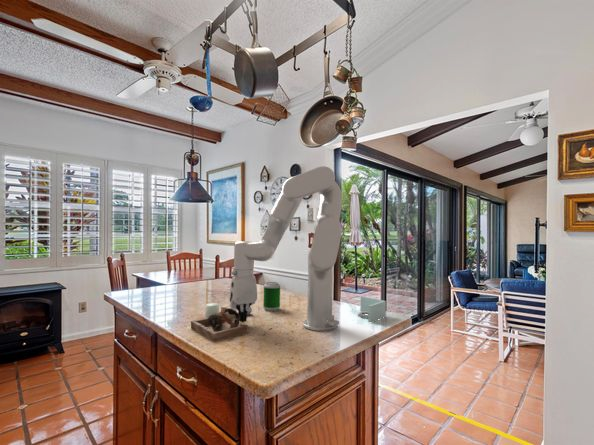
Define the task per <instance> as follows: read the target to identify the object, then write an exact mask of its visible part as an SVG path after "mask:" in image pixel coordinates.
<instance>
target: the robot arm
mask: <svg viewBox="0 0 594 445" xmlns="http://www.w3.org/2000/svg"><path fill="white" fill-rule="evenodd" d="M317 193H318V194H319V197H320V198H319V199H320V201H319V208H318V213H317V217H316V221H315V224H314V232H313V239H312V244H311V248H310V249H309V251H308V254H307V316H306V317H307V318H306V319H305V320H303V324H302V326H303V328H305V329H308V330H311V331H317V332H319V331H320V332H328V331H333V330H334V329H336V328H338V325H340V324H339V323H340V321H339V320H337V319H335V315H333V286H334V282H333V281H334V279H333V278H334V276H333V275H334V273H333V272H334V271H333V267H334V266H335V264H336V262H337V258H338V253H339V248H340V244H341V243H340V242H341V237H342V230H343V228H342V227H343V226H342V224H341V221H340V218H341V212H342V207H343V206H342V205H343V194H342V190H341V188H340V186H339V184H338V183H337V182H336V175H335V172H334V171H333V170H332V168H330V167H328V166H324V165H323V166H317V167H315V168H312V169H309V170H307V171H304V172H302V173H300V174H297V175H294V176H291V177H289V178H287V179H286V180H285V181H284V182H283V183H282V190H281V192H280V194H279V195H278V196H279V197H278V199H277V200H276V202H275V203H274V206H273V208H272V209H271V211H270V213H269V218H268V223H267V226H266V227H265V230H264V233H263V234H262V237H261V238H260V240H259V241H258V242H256V241H255V242H253V241H249V240H248V241H247V240H246V241H244V240H240V241H236V242H235V243H234V245H233V246H234V248H233V249H234V250H233V255H234V256H233V270H231V272H230V275H231V276H232V277H231V282H230V286H229V287H230V288H229V303H230V304H229V305H230V307H232V308H236V309H237V313H238V314H239V315H240V320H239V322H242V323H244V322H245V323H246V322H247V320H248V319H247V318H248V315H247V311H248V310H249V307H252V305H254V304H256V302H257V300H258V286H257V280H256V279H257V278H256V275H254V271H255V270H254V265H255V262H254V261H258V262H267V261H269V260H270V259H272V257H273V256H274V254H275V252H276V250H277V248H278V247H279V244H280V243H281V241H282V239H283V237H284V234H285V232H286V231H287V230H288V229H289V226H290V225H291V223H292V220H293V218H294V216H295V214H296V212H297V210H298V209H299V206H300V205H301V203H302V200H303V199H304V198H306V197H308V196H311V195H314V194H317Z"/></svg>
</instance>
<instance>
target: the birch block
mask: <svg viewBox="0 0 594 445" xmlns="http://www.w3.org/2000/svg"><path fill="white" fill-rule="evenodd" d="M225 308H228V309H232V310H235V311H236V312H237V313H238V310H237V309H236V308H232V307H230V304H226V305H222V306H220V312H221V311H223V309H225ZM225 314H226V315H227V316H228V317H229V318H231V319H233V318H236V317H235V315H229V313H228V312H226V313H225Z"/></svg>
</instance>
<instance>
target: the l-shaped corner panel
mask: <svg viewBox="0 0 594 445" xmlns="http://www.w3.org/2000/svg"><path fill="white" fill-rule="evenodd" d="M386 306H387V301H386V300H383V299H377V298H372V297H368V296H363V295H362V296H360V311H359V312H357V316H358V317H359V318H360V317H362V319H368V321H367V322H372V323H374V322H373V321H375V320H377V321H379V320H378V319H380V318H383V317H385V318H386V312H387V310H386V308H387V307H386ZM365 314H368V315H365ZM383 319H384V318H383ZM380 320H381V319H380ZM375 322H376V321H375Z"/></svg>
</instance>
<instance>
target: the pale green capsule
mask: <svg viewBox="0 0 594 445" xmlns="http://www.w3.org/2000/svg"><path fill="white" fill-rule="evenodd" d="M219 308H220V306H219V303H217V302H213V303H212V302H211V303H207V304H205V318H209V316H211V315H217V314H218V313H219V312H220V310H219Z"/></svg>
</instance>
